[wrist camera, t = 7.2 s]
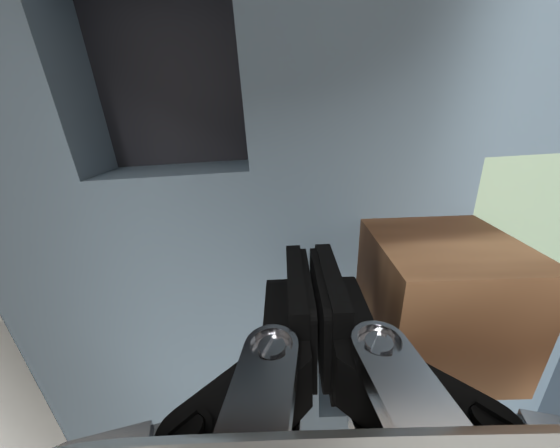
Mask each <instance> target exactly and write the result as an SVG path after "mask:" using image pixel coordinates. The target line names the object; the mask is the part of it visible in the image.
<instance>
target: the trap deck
mask: <svg viewBox="0 0 560 448" xmlns="http://www.w3.org/2000/svg"><path fill="white" fill-rule="evenodd" d="M459 215H474V216H476V217H478V218H480V219H482V220H483V221H485V222H487V223H489V224H491V225H492V226H494V227H496V228H498V229H500V230H501V231H503V232H505V233H507V234H508V235H510V236H512V237H514V238H516V239H517V240H519V241H521V242H523V243H525V244H526V245H528V246H530V247H532V248H534V249H535V250H537V251H539V252H541V253H542V254H544V255H546V256H548V257H550V258H551V259H553V260H555V261H557V262H559V263H560V0H0V315H1V317H2V319H3V321H4V323H5V325H6V327H7V328H8V330H9V332H10V334H11V336H12V338H13V340H14V342H15V343H16V345H17V347H18V349H19V351H20V353H21V355H22V357H23V358H24V360H25V362H26V364H27V366H28V368H29V370H30V372H31V374H32V375H33V377H34V379H35V381H36V383H37V385H38V387H39V389H40V390H41V392H42V394H43V396H44V398H45V400H46V402H47V404H48V405H49V407H50V409H51V411H52V413H53V415H54V417H55V419H56V421H57V422H58V424H59V426H60V428H61V430H62V432H63V434H64V436H65V437H66V439H67V441H71V440H75V439H78V438H82V437H86V436H90V435H94V434H98V433H102V432H106V431H110V430H114V429H117V428H121V427H125V426H129V425H133V424H137V423H141V422H145V421H149V420H152V423H153V424H157V423H161V422H162V421H163V419H164V418H165V417H166V416H167V415H168V414H169V413H171V412H172V411H173V410H174V409H175V408H177V407H178V406H179V405H181V404H182V403H183V402H185V401H186V400H187V399H189V398H190V397H191V396H193V395H194V394H195V393H197V392H198V391H199V390H201V389H202V388H203V387H205V386H206V385H207V384H209V383H210V382H211V381H213V380H214V379H215V378H217V377H218V376H219V375H221V374H222V373H223V372H225V371H226V370H227V369H229V368H230V367H231V366H233V365H234V364H235V363H237V362H238V360H239V357H240V354H241V351H242V348H243V345H244V343H245V340H246V339H247V337H248V335H249V334H250V333H251V332H252V331H253V330H255V329H257V328H259V327H261V326H263V317H264V305H265V293H266V282H267V280H276V279H287V261H286V246H290V245H300V248H301V249H306V252H307V258H308V264H309V269H310V248H315V244H330V245H331V248H332V251H333V254H334V256H335V259H336V262H337V265H338V267H339V270H340V273H341V276H342V277H350V276H354V277H355V278H356V276H357V262H358V249H359V236H360V222H361V219H372V218H401V217H430V216H459ZM497 401H499V402H500V403H502V404H503V405H505V406H506V407H508V408H509V409H510V410H512V411H513V412H514V413H518V410H519V409H525V410H530V411H536V412H542V413H548V414H553V415H559V416H560V334H559V336H558V339H557V341H556V343H555V346H554V348H553V350H552V353H551V355H550V358H549V360H548V362H547V365H546V367H545V369H544V372H543V374H542V376H541V379H540V381H539V383H538V386H537V388H536V391H535V393H534V395H533V398H532V399H520V400H497ZM337 429H349V427H348V423H347V415H346V414H345V413H343V412H342V411H341V410H340V409H338V408H337V407H331V403H330V397H329V395H323V393H322V387H321V380H320V373H319V366H318V394H317V395H313V407H312V408H311V409H310V410H309V411H308V413H307V414H306V415H305V416H304V417H303V418H302V419H301V431H304V430H337Z"/></svg>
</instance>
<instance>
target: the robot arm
mask: <svg viewBox="0 0 560 448" xmlns="http://www.w3.org/2000/svg"><path fill="white" fill-rule="evenodd" d="M286 261H287V279H276V280H267V282H266V293H265V305H264V317H263V326H261V327H259V328H257V329H255V330H253V331H252V332H251V333H250V334H249V335H248V337H247V339H246V340H245V343H244V345H243V348H242V351H241V354H240V357H239V360H238V362H237V363H235V364H234V365H233V366H231V367H230V368H229V369H227V370H226V371H225V372H223V373H222V374H221V375H219V376H218V377H217V378H215V379H214V380H213V381H211V382H210V383H209V384H207V385H206V386H205V387H203V388H202V389H201V390H199V391H198V392H197V393H195V394H194V395H193V396H191V397H190V398H189V399H187V400H186V401H185V402H183V403H182V404H181V405H179V406H178V407H177V408H175V409H174V410H173V411H172V412H171V413H169V414H168V415H167V416H166V417H165V418H164V419H163V421H162V422H161V423H157V424H153V423H152V420H149V421H145V422H141V423H137V424H133V425H129V426H125V427H121V428H117V429H114V430H110V431H106V432H102V433H98V434H94V435H90V436H86V437H82V438H78V439H75V440H71V441H67V442H65V443H63V444H60V445H58V446H56V447H54V448H560V416H559V415H553V414H548V413H542V412H536V411H530V410H525V409H519V410H518V413H514V412H513V411H512V410H510V409H509V408H508V407H506V406H505V405H503V404H502V403H500V402H499V401H497V400H495V399H493V398H491V397H490V396H488V395H486V394H484V393H482V392H480V391H478V390H476V389H475V388H473V387H471V386H469V385H467V384H465V383H463V382H461V381H460V380H458V379H456V378H454V377H452V376H450V375H448V374H446V373H445V372H443V371H441V370H439V369H437V368H435V367H433V366H431V365H430V364H428V363H426V362H425V361H424V360H423V358H422V357H421V356H420V354H419V353H418V352H417V350H416V349H415V348H414V346H413V345H412V344H411V342H410V341H409V340H408V339H407V337H406V336H405V335H404V334H403V333H402V332H401V331H400V330H399V329H398V328H396V327H394V326H393V325H391V324H388V323H385V322H381V321H374V319H373V316H372V314H371V312H370V310H369V307H368V305H367V303H366V300H365V298H364V296H363V294H362V291H361V289H360V287H359V285H358V282H357V280H356V278H355V277H354V276H350V277H342V276H341V273H340V270H339V267H338V265H337V262H336V259H335V256H334V254H333V251H332V248H331V245H330V244H315V248H310V269H309V264H308V258H307V252H306V249H301V248H300V245H290V246H286ZM318 366H319V373H320V380H321V387H322V393H323V395H329V397H330V403H331V407H337V408H338V409H340V410H341V411H342V412H343V413H345V414H346V415H347V423H348V427H349V429H337V430H304V431H301V419H302V418H303V417H304V416H305V415H306V414H307V413H308V411H309V410H310V409H311V408H312V407H313V395H317V394H318Z"/></svg>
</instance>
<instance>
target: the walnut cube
mask: <svg viewBox="0 0 560 448" xmlns="http://www.w3.org/2000/svg"><path fill="white" fill-rule="evenodd" d="M356 280H357V282H358V285H359V287H360V289H361V291H362V294H363V296H364V298H365V300H366V303H367V305H368V307H369V310H370V312H371V314H372V316H373V319H374V321H381V322H385V323H388V324H391V325H393V326H394V327H396V328H398V329H399V330H400V331H401V332H402V333H403V334H404V335H405V336H406V337H407V339H408V340H409V341H410V342H411V344H412V345H413V346H414V348H415V349H416V350H417V352H418V353H419V354H420V356H421V357H422V358H423V360H424V361H425V362H426V363H428V364H430V365H431V366H433V367H435V368H437V369H439V370H441V371H443V372H445V373H446V374H448V375H450V376H452V377H454V378H456V379H458V380H460V381H461V382H463V383H465V384H467V385H469V386H471V387H473V388H475V389H476V390H478V391H480V392H482V393H484V394H486V395H488V396H490V397H491V398H493V399H495V400H520V399H532V398H533V395H534V393H535V391H536V388H537V386H538V383H539V381H540V379H541V376H542V374H543V372H544V369H545V367H546V365H547V362H548V360H549V358H550V355H551V353H552V350H553V348H554V346H555V343H556V341H557V339H558V336H559V334H560V263H559V262H557V261H555V260H553V259H551V258H550V257H548V256H546V255H544V254H542V253H541V252H539V251H537V250H535V249H534V248H532V247H530V246H528V245H526V244H525V243H523V242H521V241H519V240H517V239H516V238H514V237H512V236H510V235H508V234H507V233H505V232H503V231H501V230H500V229H498V228H496V227H494V226H492V225H491V224H489V223H487V222H485V221H483V220H482V219H480V218H478V217H476V216H474V215H459V216H430V217H401V218H372V219H361V222H360V236H359V249H358V262H357V276H356Z"/></svg>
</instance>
